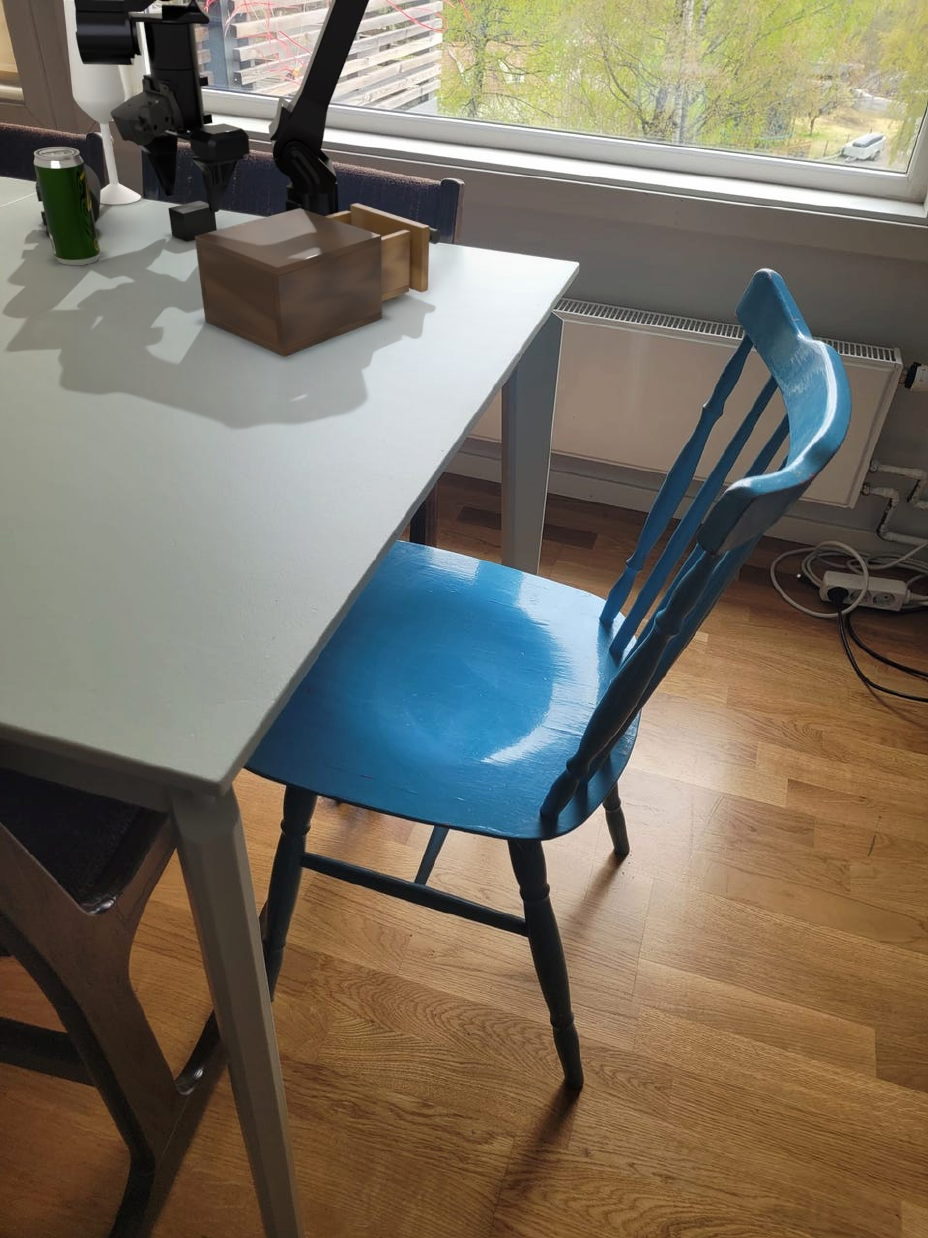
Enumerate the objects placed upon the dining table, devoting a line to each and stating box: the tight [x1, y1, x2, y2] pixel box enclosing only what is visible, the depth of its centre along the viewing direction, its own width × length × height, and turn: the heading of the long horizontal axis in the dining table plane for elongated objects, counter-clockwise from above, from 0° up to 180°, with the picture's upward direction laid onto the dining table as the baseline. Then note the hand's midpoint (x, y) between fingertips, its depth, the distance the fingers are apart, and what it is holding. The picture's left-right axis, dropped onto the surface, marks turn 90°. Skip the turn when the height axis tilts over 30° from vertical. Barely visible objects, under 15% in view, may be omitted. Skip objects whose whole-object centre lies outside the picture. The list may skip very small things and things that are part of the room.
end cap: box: [35, 163, 102, 238], centre depth 124 cm, size 10×7×7 cm
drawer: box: [325, 202, 442, 302], centre depth 110 cm, size 18×11×7 cm, turn 140°
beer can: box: [33, 146, 101, 266], centre depth 113 cm, size 5×5×12 cm
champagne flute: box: [63, 0, 142, 206], centre depth 129 cm, size 7×7×24 cm
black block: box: [168, 200, 218, 242], centre depth 125 cm, size 5×3×4 cm, turn 141°
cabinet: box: [194, 208, 383, 357], centre depth 103 cm, size 15×13×9 cm
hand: (191, 203), depth 124 cm, fingers open, 9 cm apart
